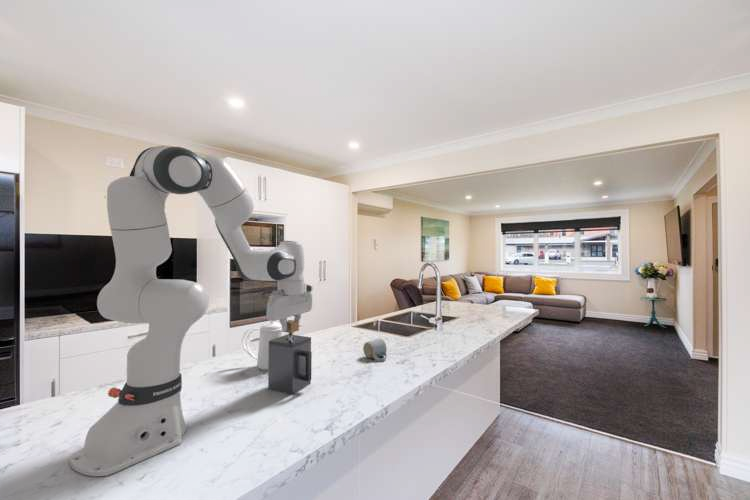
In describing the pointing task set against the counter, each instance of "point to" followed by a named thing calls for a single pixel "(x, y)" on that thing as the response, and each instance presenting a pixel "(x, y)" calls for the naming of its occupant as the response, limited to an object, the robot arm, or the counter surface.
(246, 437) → the counter surface
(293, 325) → the plunger
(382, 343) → the ceramic mug
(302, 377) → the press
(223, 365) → the counter surface
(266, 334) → the coffeepot
